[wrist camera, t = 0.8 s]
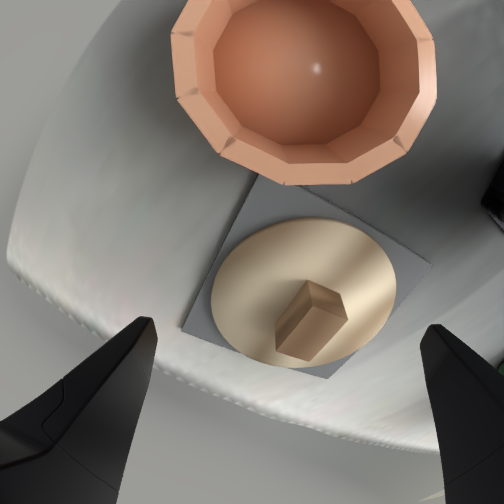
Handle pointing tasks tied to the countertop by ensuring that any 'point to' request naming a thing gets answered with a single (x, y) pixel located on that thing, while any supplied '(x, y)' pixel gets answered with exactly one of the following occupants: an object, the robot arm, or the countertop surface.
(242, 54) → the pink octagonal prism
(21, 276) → the countertop surface
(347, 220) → the mat
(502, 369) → the coffee jar
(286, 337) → the lid
